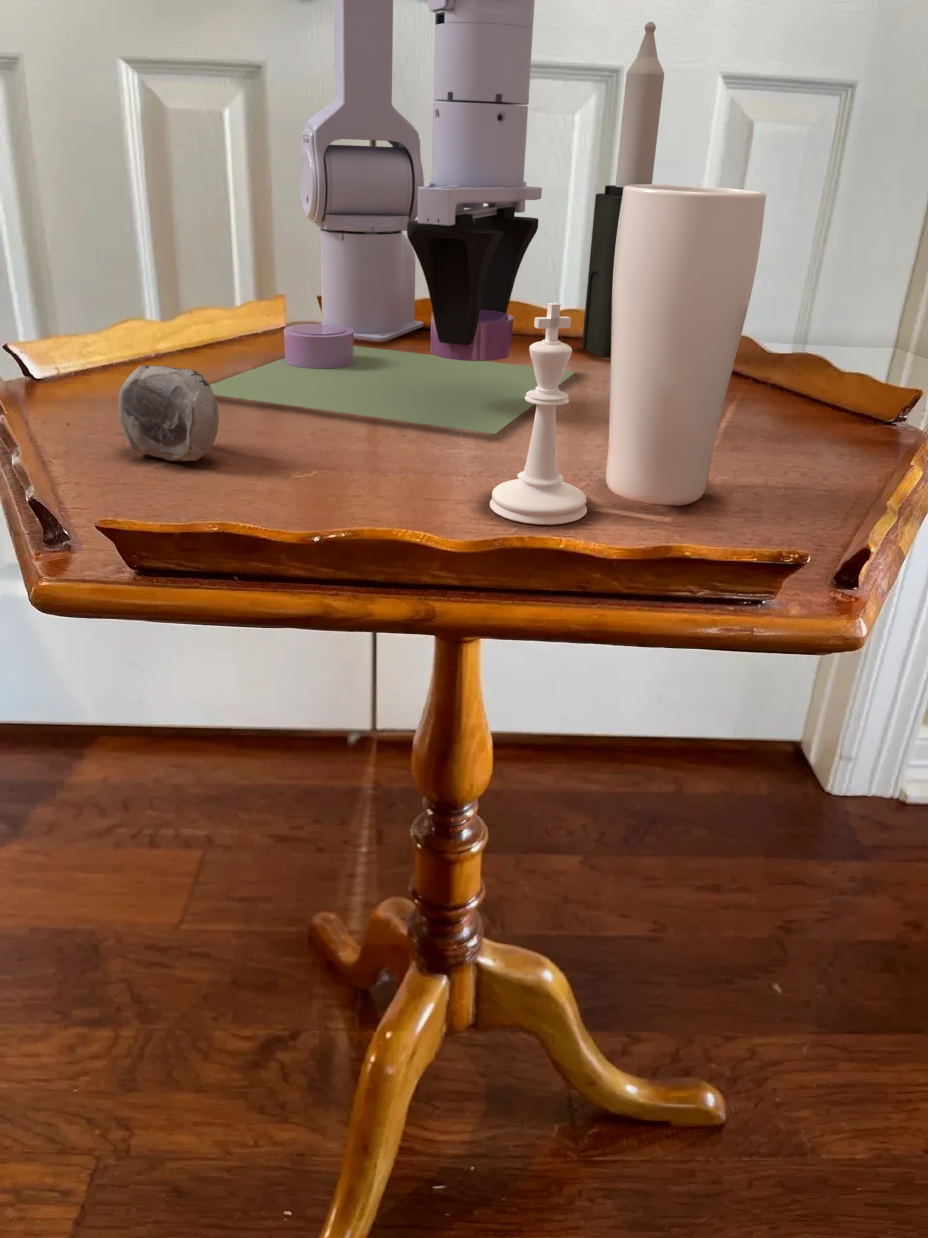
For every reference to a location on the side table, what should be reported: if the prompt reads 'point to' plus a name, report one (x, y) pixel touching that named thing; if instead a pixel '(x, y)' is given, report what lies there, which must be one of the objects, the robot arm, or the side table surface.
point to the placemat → (397, 389)
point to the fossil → (168, 412)
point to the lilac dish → (319, 346)
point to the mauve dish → (479, 339)
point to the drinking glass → (676, 332)
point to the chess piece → (543, 441)
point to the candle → (631, 169)
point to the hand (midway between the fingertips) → (471, 335)
